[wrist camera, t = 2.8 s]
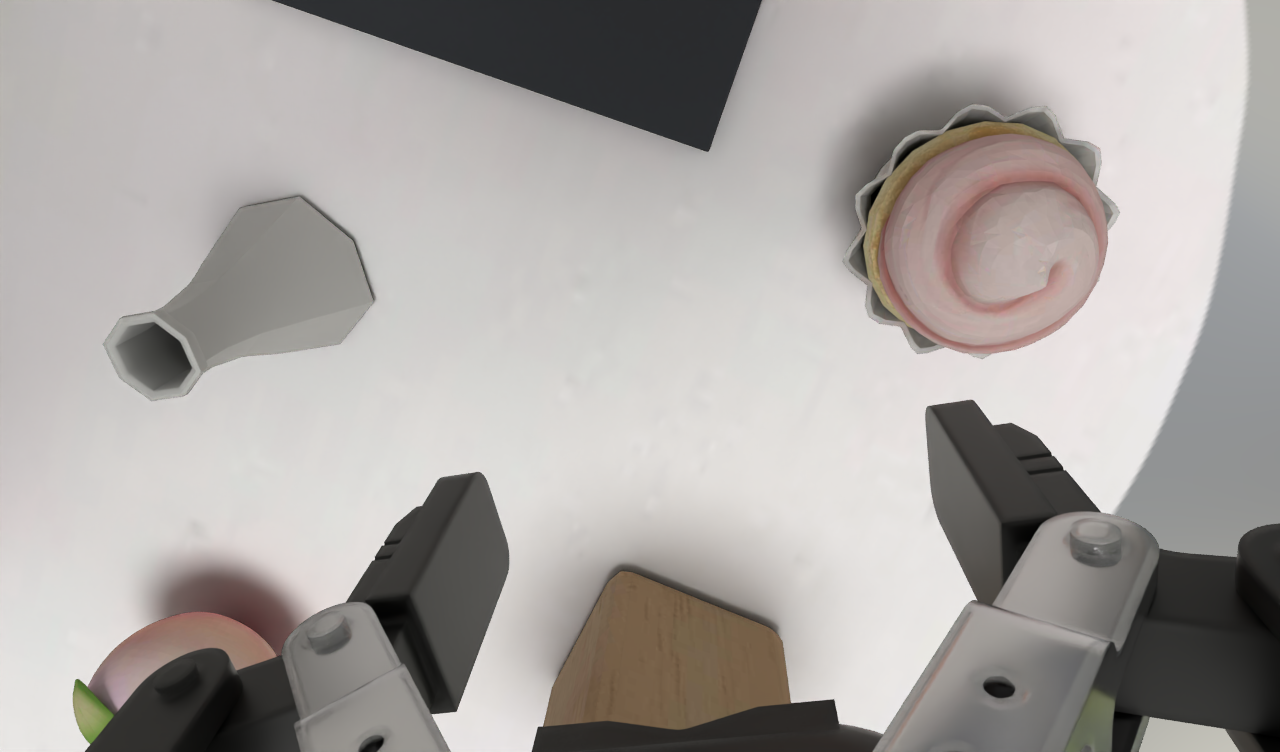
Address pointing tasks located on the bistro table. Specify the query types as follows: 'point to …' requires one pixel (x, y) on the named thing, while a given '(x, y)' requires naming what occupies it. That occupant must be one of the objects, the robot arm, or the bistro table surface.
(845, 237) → the bistro table surface
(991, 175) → the cupcake
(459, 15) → the mat
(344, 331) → the flask
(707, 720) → the wooden block
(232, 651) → the decorative fruit
